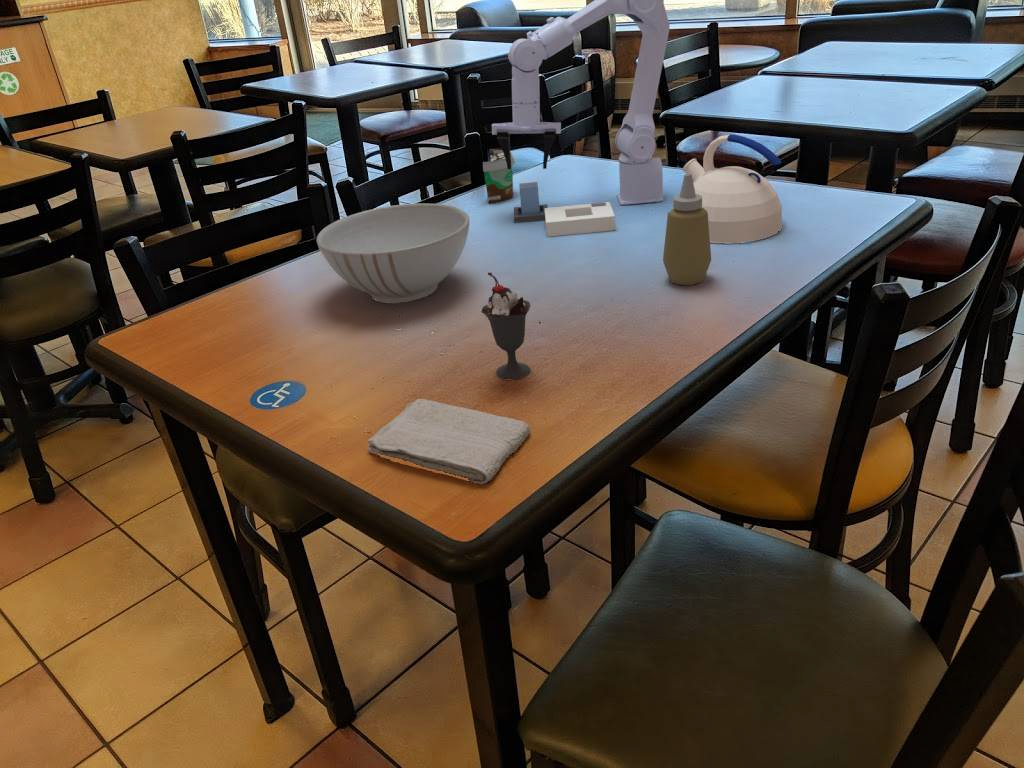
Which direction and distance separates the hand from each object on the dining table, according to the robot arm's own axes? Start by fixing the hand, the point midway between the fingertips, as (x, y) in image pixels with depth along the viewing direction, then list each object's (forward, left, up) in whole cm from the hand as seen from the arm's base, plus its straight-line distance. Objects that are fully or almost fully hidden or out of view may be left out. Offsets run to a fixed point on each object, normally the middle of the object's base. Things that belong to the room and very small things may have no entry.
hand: (527, 168), depth 169 cm
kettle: (-39, +19, -11) cm, 45 cm away
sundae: (+4, +72, -11) cm, 73 cm away
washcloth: (+12, +90, -11) cm, 91 cm away
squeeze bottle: (-26, +44, -11) cm, 52 cm away
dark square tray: (0, 0, -11) cm, 11 cm away
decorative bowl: (+24, +37, -11) cm, 46 cm away
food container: (+6, -17, -11) cm, 21 cm away
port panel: (-10, +10, -11) cm, 18 cm away
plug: (0, 0, -11) cm, 11 cm away
